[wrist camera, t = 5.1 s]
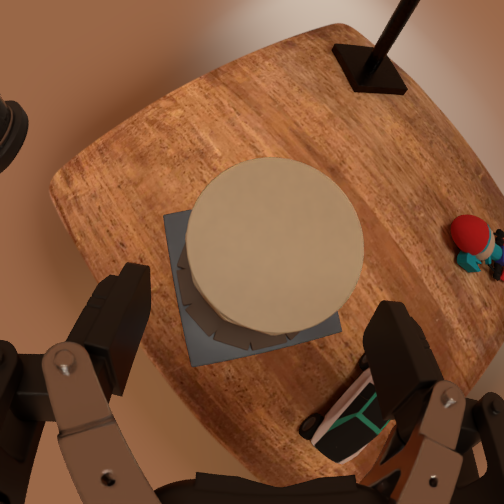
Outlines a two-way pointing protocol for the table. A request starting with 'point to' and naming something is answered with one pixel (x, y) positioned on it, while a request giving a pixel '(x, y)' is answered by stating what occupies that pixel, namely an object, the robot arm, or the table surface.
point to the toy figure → (478, 244)
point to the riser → (198, 341)
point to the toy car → (347, 420)
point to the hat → (269, 253)
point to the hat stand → (376, 57)
